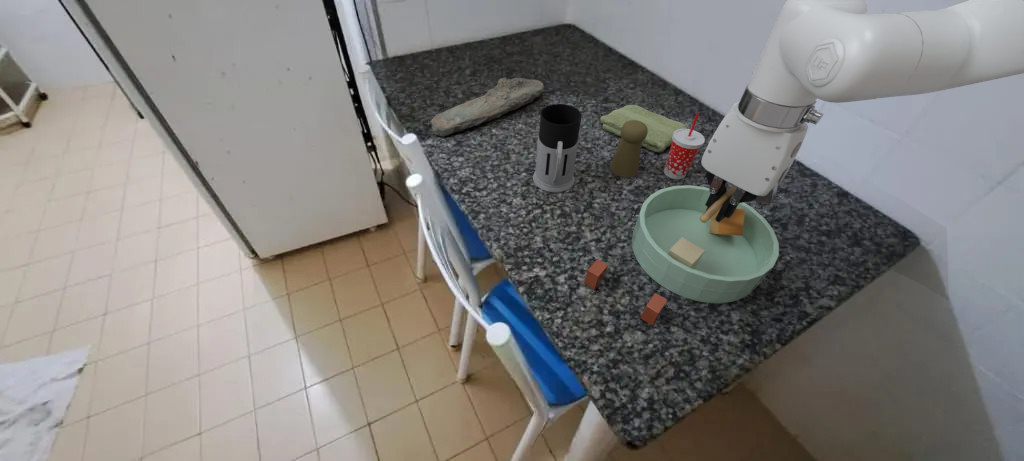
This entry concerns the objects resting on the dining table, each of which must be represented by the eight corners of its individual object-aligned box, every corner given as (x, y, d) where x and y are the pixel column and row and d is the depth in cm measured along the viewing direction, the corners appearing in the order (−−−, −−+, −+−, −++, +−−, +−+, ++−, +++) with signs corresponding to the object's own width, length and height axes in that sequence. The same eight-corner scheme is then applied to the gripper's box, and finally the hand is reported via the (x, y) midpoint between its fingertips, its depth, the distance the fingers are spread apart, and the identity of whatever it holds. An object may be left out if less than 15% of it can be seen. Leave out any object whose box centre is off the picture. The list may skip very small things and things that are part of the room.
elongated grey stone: (423, 130, 96) (446, 150, 91) (419, 112, 92) (443, 131, 87) (527, 81, 111) (552, 96, 106) (528, 64, 107) (553, 78, 102)
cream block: (695, 268, 65) (705, 250, 62) (683, 281, 63) (692, 264, 60) (673, 254, 67) (682, 236, 64) (661, 267, 65) (669, 249, 62)
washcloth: (626, 109, 102) (629, 97, 100) (687, 136, 94) (692, 124, 91) (595, 127, 96) (597, 115, 94) (658, 158, 87) (662, 146, 85)
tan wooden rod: (743, 171, 61) (751, 172, 60) (745, 178, 62) (752, 178, 61) (697, 217, 58) (704, 218, 57) (699, 223, 58) (706, 224, 57)
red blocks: (660, 312, 60) (667, 299, 57) (652, 325, 58) (658, 313, 56) (593, 272, 65) (597, 258, 62) (584, 283, 63) (587, 270, 61)
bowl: (776, 246, 70) (794, 222, 65) (736, 328, 58) (754, 306, 54) (663, 194, 79) (672, 170, 75) (609, 256, 67) (616, 232, 63)
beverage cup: (683, 185, 81) (709, 126, 71) (655, 174, 83) (676, 115, 73) (693, 171, 84) (719, 112, 74) (666, 160, 87) (687, 102, 77)
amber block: (732, 234, 70) (735, 209, 70) (742, 235, 66) (745, 209, 66) (709, 232, 71) (711, 208, 70) (717, 234, 67) (719, 207, 66)
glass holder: (574, 167, 85) (584, 103, 74) (575, 212, 75) (587, 146, 64) (533, 164, 85) (538, 100, 74) (530, 209, 75) (534, 143, 65)
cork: (608, 174, 83) (618, 129, 75) (611, 158, 87) (622, 113, 79) (636, 179, 82) (651, 134, 74) (639, 163, 86) (652, 118, 78)
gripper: (852, 121, 46) (776, 230, 59) (729, 77, 54) (686, 181, 67) (827, 143, 43) (752, 254, 56) (700, 92, 51) (660, 199, 64)
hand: (716, 214), depth 61 cm, fingers closed on tan wooden rod, 1 cm apart
